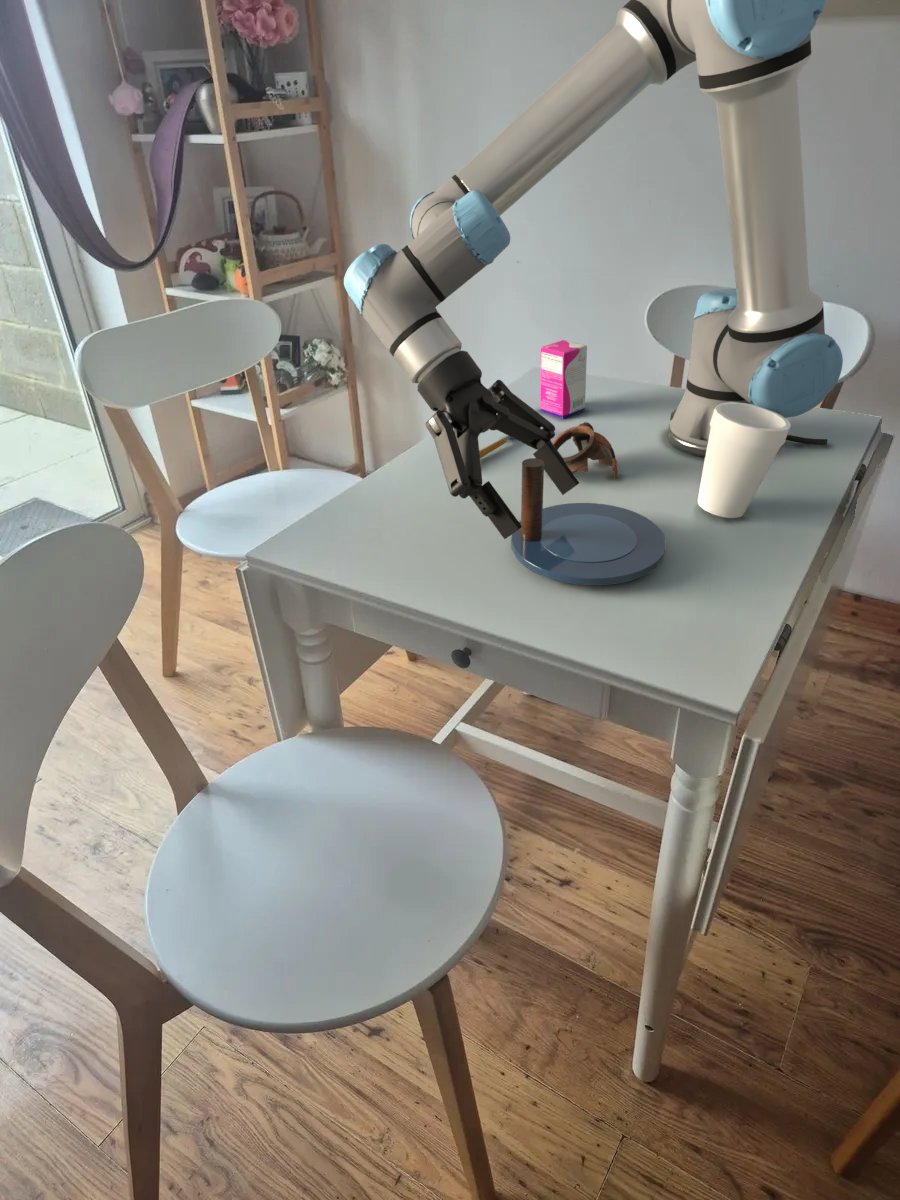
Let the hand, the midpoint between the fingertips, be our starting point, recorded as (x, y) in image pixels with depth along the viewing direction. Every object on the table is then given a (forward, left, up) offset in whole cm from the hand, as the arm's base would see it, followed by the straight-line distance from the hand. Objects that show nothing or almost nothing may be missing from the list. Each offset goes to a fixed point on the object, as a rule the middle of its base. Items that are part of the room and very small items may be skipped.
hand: (543, 510), depth 99 cm
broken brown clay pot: (-13, -22, -7) cm, 27 cm away
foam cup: (-27, -6, -6) cm, 28 cm away
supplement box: (-17, -47, -7) cm, 51 cm away
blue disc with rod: (-6, +1, -5) cm, 8 cm away
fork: (-1, -33, -7) cm, 34 cm away
